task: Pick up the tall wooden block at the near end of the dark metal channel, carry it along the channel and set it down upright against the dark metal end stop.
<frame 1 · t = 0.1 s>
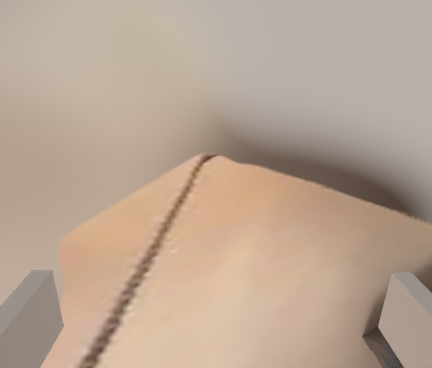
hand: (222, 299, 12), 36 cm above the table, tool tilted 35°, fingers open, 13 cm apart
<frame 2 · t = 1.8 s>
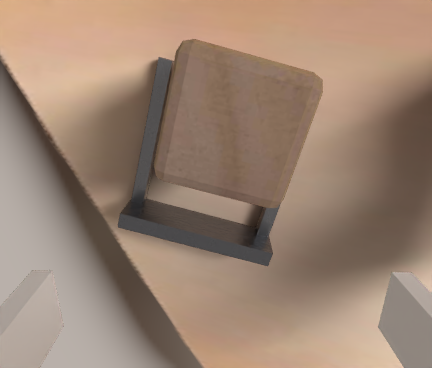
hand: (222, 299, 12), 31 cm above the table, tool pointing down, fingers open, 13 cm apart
wooden block: (232, 103, 40), on the table
end stop channel: (218, 155, 42), on the table
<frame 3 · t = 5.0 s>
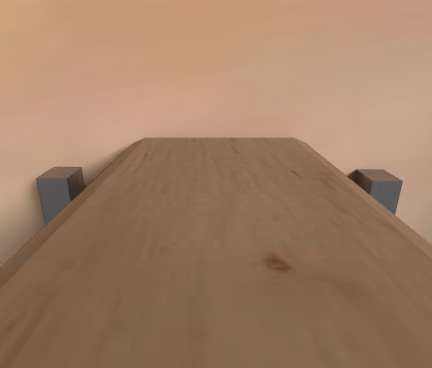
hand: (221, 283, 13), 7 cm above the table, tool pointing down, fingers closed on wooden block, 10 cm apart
wooden block: (219, 211, 20), on the table, touching gripper
end stop channel: (217, 303, 22), on the table
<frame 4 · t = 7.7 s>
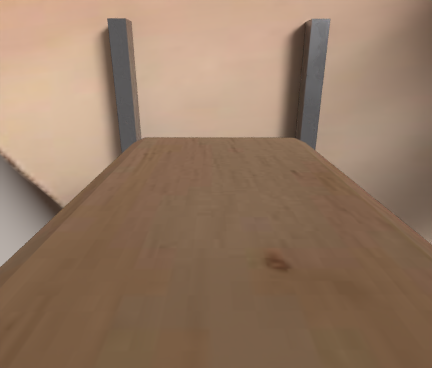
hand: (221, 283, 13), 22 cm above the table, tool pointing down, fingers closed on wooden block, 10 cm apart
wooden block: (218, 211, 20), point 15 cm above the table, touching gripper
end stop channel: (218, 128, 33), on the table
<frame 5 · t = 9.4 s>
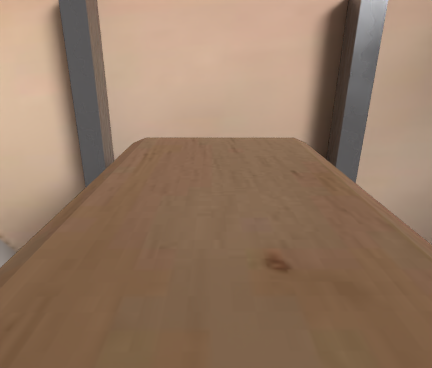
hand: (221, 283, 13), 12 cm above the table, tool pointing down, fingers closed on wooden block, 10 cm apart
wooden block: (218, 211, 20), point 5 cm above the table, touching gripper
end stop channel: (220, 145, 24), on the table
when the fingers open (8 cm above the table, at t = 10.8 s): wooden block drops 1 cm, on the table.
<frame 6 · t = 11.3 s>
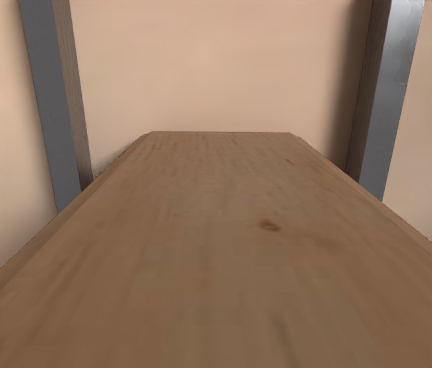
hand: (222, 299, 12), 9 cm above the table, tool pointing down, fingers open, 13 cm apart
wooden block: (219, 201, 21), on the table
end stop channel: (219, 161, 20), on the table
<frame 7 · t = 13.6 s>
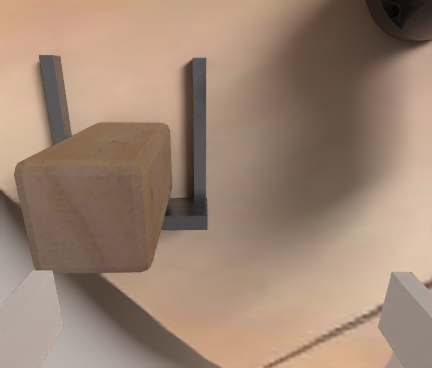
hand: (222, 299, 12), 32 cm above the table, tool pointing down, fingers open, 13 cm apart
wooden block: (135, 157, 43), on the table
end stop channel: (133, 136, 42), on the table
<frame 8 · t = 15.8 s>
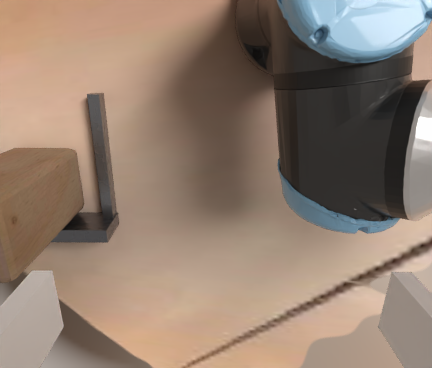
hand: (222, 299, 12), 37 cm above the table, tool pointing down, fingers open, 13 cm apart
wooden block: (51, 177, 49), on the table
end stop channel: (47, 159, 48), on the table
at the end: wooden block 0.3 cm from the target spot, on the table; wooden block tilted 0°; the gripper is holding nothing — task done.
